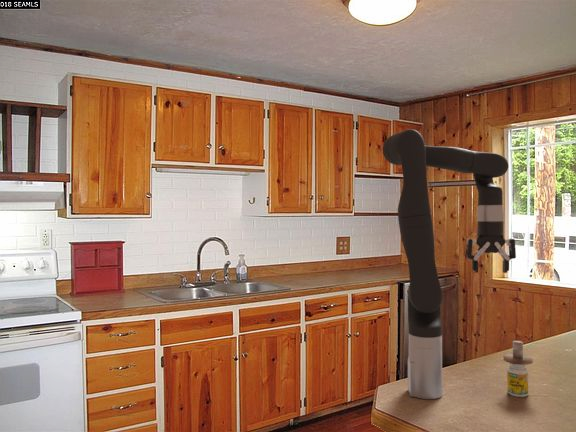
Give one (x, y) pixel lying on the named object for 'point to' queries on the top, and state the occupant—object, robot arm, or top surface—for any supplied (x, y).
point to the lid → (518, 355)
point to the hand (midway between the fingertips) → (490, 272)
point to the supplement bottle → (517, 380)
